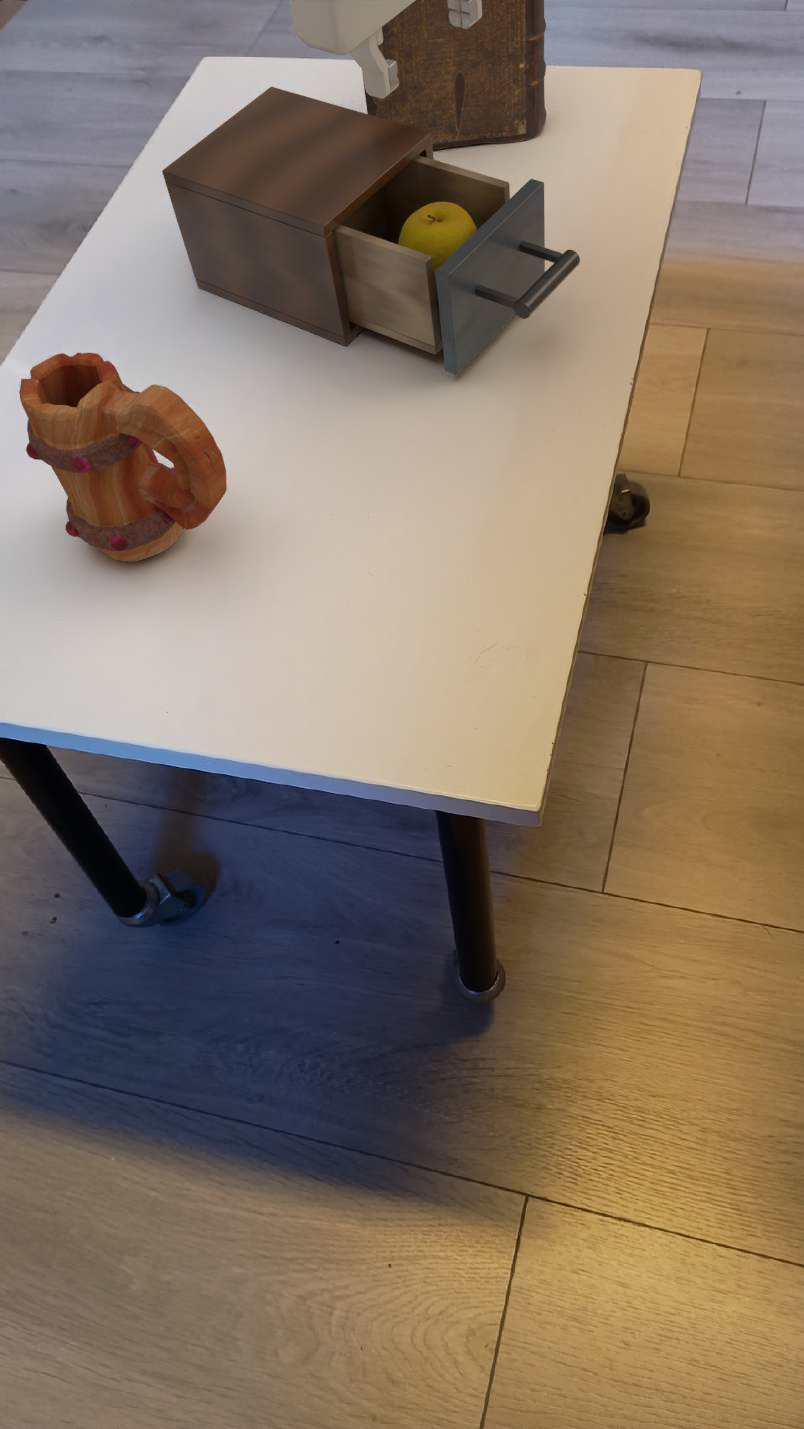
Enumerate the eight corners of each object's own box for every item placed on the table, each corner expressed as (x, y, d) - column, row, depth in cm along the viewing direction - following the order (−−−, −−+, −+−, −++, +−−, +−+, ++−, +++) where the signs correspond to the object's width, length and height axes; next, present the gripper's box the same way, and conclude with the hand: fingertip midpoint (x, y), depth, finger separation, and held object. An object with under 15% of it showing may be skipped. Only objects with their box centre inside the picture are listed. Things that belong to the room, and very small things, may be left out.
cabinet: (443, 254, 96) (431, 131, 87) (346, 346, 91) (323, 226, 82) (295, 204, 103) (271, 85, 94) (197, 287, 98) (161, 170, 89)
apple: (420, 330, 88) (409, 238, 81) (392, 285, 91) (379, 194, 85) (495, 304, 88) (490, 212, 82) (464, 261, 92) (457, 169, 85)
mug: (55, 554, 82) (-34, 393, 69) (119, 479, 85) (45, 314, 73) (219, 614, 77) (154, 453, 64) (279, 532, 80) (229, 364, 68)
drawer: (597, 302, 89) (601, 198, 82) (510, 396, 84) (506, 295, 77) (393, 233, 97) (380, 133, 90) (303, 315, 92) (282, 217, 85)
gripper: (325, -111, 58) (367, 147, 69) (542, -261, 65) (547, -6, 77) (237, -127, 60) (291, 125, 72) (455, -269, 68) (473, -21, 79)
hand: (425, 56), depth 74 cm, fingers open, 8 cm apart
